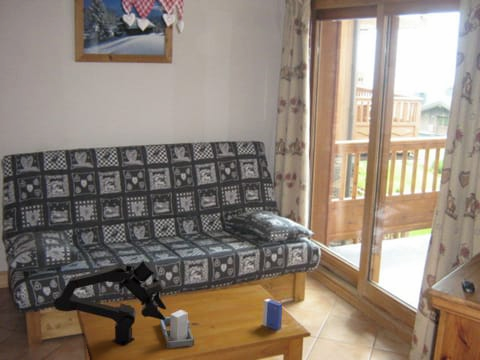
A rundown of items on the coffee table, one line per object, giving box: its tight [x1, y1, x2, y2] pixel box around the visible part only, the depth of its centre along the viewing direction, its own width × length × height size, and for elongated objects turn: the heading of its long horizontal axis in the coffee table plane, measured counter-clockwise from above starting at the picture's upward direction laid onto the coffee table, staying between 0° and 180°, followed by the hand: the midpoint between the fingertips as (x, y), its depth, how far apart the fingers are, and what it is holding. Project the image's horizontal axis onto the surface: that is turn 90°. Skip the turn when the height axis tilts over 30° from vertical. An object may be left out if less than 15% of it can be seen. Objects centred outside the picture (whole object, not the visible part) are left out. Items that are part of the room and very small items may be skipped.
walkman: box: [262, 298, 283, 331], centre depth 251 cm, size 8×3×12 cm, turn 54°
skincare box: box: [169, 309, 189, 341], centre depth 237 cm, size 6×4×12 cm
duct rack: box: [159, 316, 195, 349], centre depth 242 cm, size 20×11×5 cm, turn 16°
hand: (165, 313), depth 235 cm, fingers open, 9 cm apart
